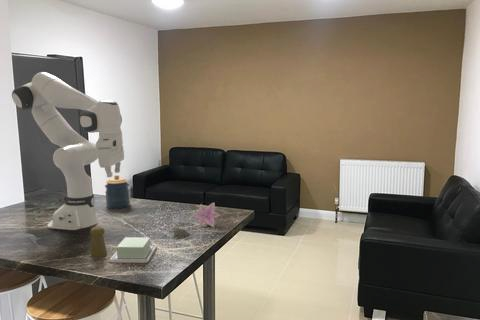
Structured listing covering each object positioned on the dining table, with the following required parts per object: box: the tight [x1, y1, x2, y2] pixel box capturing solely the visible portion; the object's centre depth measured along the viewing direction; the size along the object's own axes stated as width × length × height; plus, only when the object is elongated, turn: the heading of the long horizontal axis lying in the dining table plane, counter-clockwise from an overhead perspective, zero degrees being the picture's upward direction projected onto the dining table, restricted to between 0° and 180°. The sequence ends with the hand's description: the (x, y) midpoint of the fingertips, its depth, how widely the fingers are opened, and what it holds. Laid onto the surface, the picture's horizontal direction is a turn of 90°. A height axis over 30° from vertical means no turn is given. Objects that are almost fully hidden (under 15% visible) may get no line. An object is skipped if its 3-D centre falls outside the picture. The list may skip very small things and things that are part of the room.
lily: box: [191, 202, 221, 228], centre depth 187 cm, size 12×12×10 cm
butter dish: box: [109, 236, 158, 264], centre depth 151 cm, size 14×14×5 cm
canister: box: [104, 174, 131, 210], centre depth 217 cm, size 13×13×18 cm
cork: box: [89, 226, 108, 259], centre depth 151 cm, size 6×6×11 cm
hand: (113, 174), depth 159 cm, fingers open, 8 cm apart
